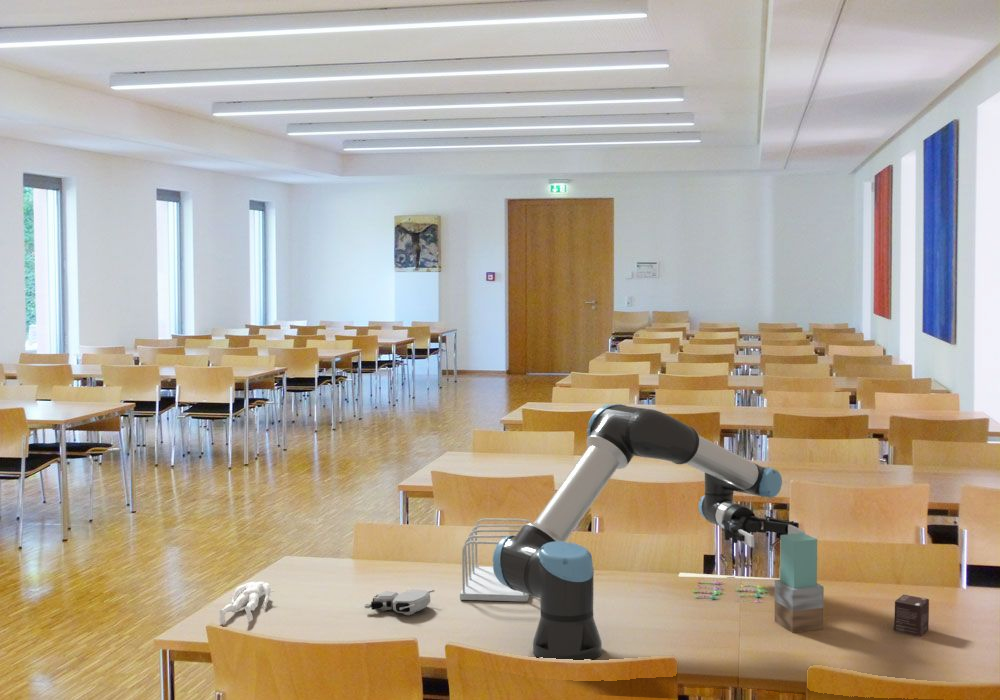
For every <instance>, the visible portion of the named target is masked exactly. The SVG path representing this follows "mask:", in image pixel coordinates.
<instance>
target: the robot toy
mask: <svg viewBox="0 0 1000 700" xmlns="http://www.w3.org/2000/svg"><path fill="white" fill-rule="evenodd" d="M434 592H436V590H435V589H432V590H429V591H428V590H426V589H410V590H406V591H404V592H401V593H398V592H397V591H389V590H388V591H382V592H380V593H379V594H376V595H374V596H373V598H372V601H370V603H366V604H365V605H364V608H365V609H370V608H371V610H373V611H374V610H380V611H382V612H385V611H387V610H388V611H390V610H392V611H394V612H396V613H399V614H403V615H404V616H406V617H407V616H412V615H414V614H416V612H417V613H418V612H419V611H421V610H423V609H425V608H427V607H428V605H429V604H430V603H431V593H434Z"/></svg>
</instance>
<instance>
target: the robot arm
mask: <svg viewBox="0 0 1000 700" xmlns="http://www.w3.org/2000/svg"><path fill="white" fill-rule="evenodd" d="M589 418H590V419H589V420H588V425H587V426H588V428H587V429H586V432H587V438H586V446H587V448H586V450H585V451H584V453H583V454H582V455H581V456H580V458H579V459H578V461H577V462H576V464H575V465H574V466H573V468H572V469H571V470H570V472H569V473H568V474H567V476H566V477H565V479H564V480H563V482H562V483H561V485H560V486H559V487H558V489H556V491H555V492H554V494H553V495H552V497H551V498H550V499H549V501H548V502H547V503H546V505H545V506H544V508H543V509H542V511H541V512H540V513H539V515H538V517H536V519H535V520H534V522H531V523H525V524H523V525H524V526H523V527H520V528H521V529H519V530H520V531H519V532H517V534H510V535H511V536H506V537H504V538H502V539H500V540H499V541H498V542H499V543H498V544H496V546H495V548H494V550H493V555H492V563H493V565H492V567H493V570H494V574H495V576H496V578H497V579H498V580H499V582H500V583H502V584H503V585H505V586H507V587H509V588H510V589H512V590H515V591H520V592H523V593H526V594H529V596H533V597H535V598H537V599H540V601H539V603H540V607H539V608H540V616H539V617H540V618H539V622H538V625H537V628H536V631H535V634H534V637H533V641H532V651H533V652H532V653H533V655H534V656H535V657H537V658H538V657H543V658H556V659H573V660H584V659H594V660H595V659H597V658H599V657H600V656H601V655H602V650H603V649H602V648H603V647H602V640H601V636H600V634H599V630H598V627H597V624H596V620H595V618H594V576H595V575H594V573H595V569H594V566H593V565H594V564H593V563H594V562H593V555H592V554H591V552H590V551H589V550H588V549H587V548H586V547H584V546H583V545H580V544H578V543H575V542H567V541H568V539H569V537H570V536H571V535H572V533H573V532H574V530H575V529H576V528H577V526H578V525H579V524H580V522H581V521H582V519H583V518H584V517H585V515H586V513H587V512H588V511H589V509H590V508H591V506H592V505H593V504H594V502H595V501H596V499H597V498H598V496H599V495H600V493H602V492H603V489H604V488H605V487H606V485H607V484H608V482H609V481H610V479H611V478H612V477H613V475H614V473H615V472H616V471H617V470H621V469H625V468H626V467H627V466H628V465H629V463H630V462H631V461H632V459H633V458H634V457H635V456H636V457H640V458H648V459H655V460H664V461H667V462H671V463H673V464H675V465H678V466H681V465H688V466H690V467H692V468H695V469H696V470H698V471H701V472H703V473H704V495H703V496H701V498H700V500H699V502H698V511H699V514H700V515H701V516H702V517H703V518H704V519H705V520H706V521H708V522H709V523H711V524H714V525H716V526H718V527H720V528H721V531H722V532H723V534H724V540H725V541H729V540H730V539H732V543H733V544H737V543H738V542H741V543H742V544H745V545H746V546H748V547H750V548H755V536H754V535H753V534H751V533H754V534H755V533H763V534H765V533H768V532H770V533H778V534H782V535H787V534H797V533H804V534H806V531H805V530H803V529H801V528H800V524H799V522H795V521H794V520H792V521H789V520H784V519H779V518H774V517H772V516H766V517H765V518H764V517H763V518H762V517H758V516H757V515H755V513H754V511H753V510H752V509H750V508H749V507H746V506H744V505H742V504H740V503H738V502H736V501H734V492H737V493H742V494H743V493H744V494H748V495H753V496H756V497H757V496H758V497H761V498H769V499H772V498H775V497H776V496H778V495H779V493H780V492H781V490H782V489H781V488H782V485H783V479H782V478H783V477H782V475H781V473H780V472H779V470H777V469H774V468H771V467H769V466H767V467H765V466H761V465H759V464H757V463H755V462H752V461H751V460H749V459H747V458H745V457H742V456H741V455H739V454H737V453H735V452H732V451H731V450H729V449H727V448H725V447H723V446H721V445H719V444H717V443H714V441H713V442H712V441H711V440H709V439H707V438H705V437H703V436H702V435H699V433H698V430H696V429H695V428H694V427H692V426H690V425H689V424H686V423H684V422H682V421H681V420H679V419H677V418H676V417H673V416H671V415H669V414H667V413H665V412H662V411H659V410H656V409H652V408H644V407H637V406H635V407H634V406H629V405H625V404H619V403H617V404H616V403H615V404H606V405H603V406H601V407H599V408H598V409H597V410H596V411H594V413H593V414H592V415H591V417H589ZM514 535H516V536H514Z"/></svg>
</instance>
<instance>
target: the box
mask: <svg viewBox="0 0 1000 700" xmlns="http://www.w3.org/2000/svg"><path fill="white" fill-rule="evenodd" d="M929 614H930V600H929V598H925V597H921V596H920V597H919V596H913V595H908V594H902V595H901V596H899V597H898V598H897V599H895V600H894V618H893V619H894V622H893V623H894V628H893V629H894V630H893V631H894V632H895V633H898V634H904V635H910V636H915V637H919V638H920V637H921V636H922V635H924V633H926V632H927V631H928V630H929V623H930V622H929V621H930V620H929V618H930V615H929Z"/></svg>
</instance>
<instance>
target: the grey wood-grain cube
mask: <svg viewBox="0 0 1000 700" xmlns="http://www.w3.org/2000/svg"><path fill="white" fill-rule="evenodd" d="M824 595H825V594H824V586H823V585H821V584H820V583H817V586H811V587H802V588H792V587H790V586H788V585H787V584H785V583H783V582H781V581H780V579H774V622H775V623H776V624H778V625H779V626H781V627H783V628H784V629H786V630H787V631H788V632H791V633H792V634H793V633H801V632H809V631H816V630H824V598H825V597H824Z"/></svg>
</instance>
